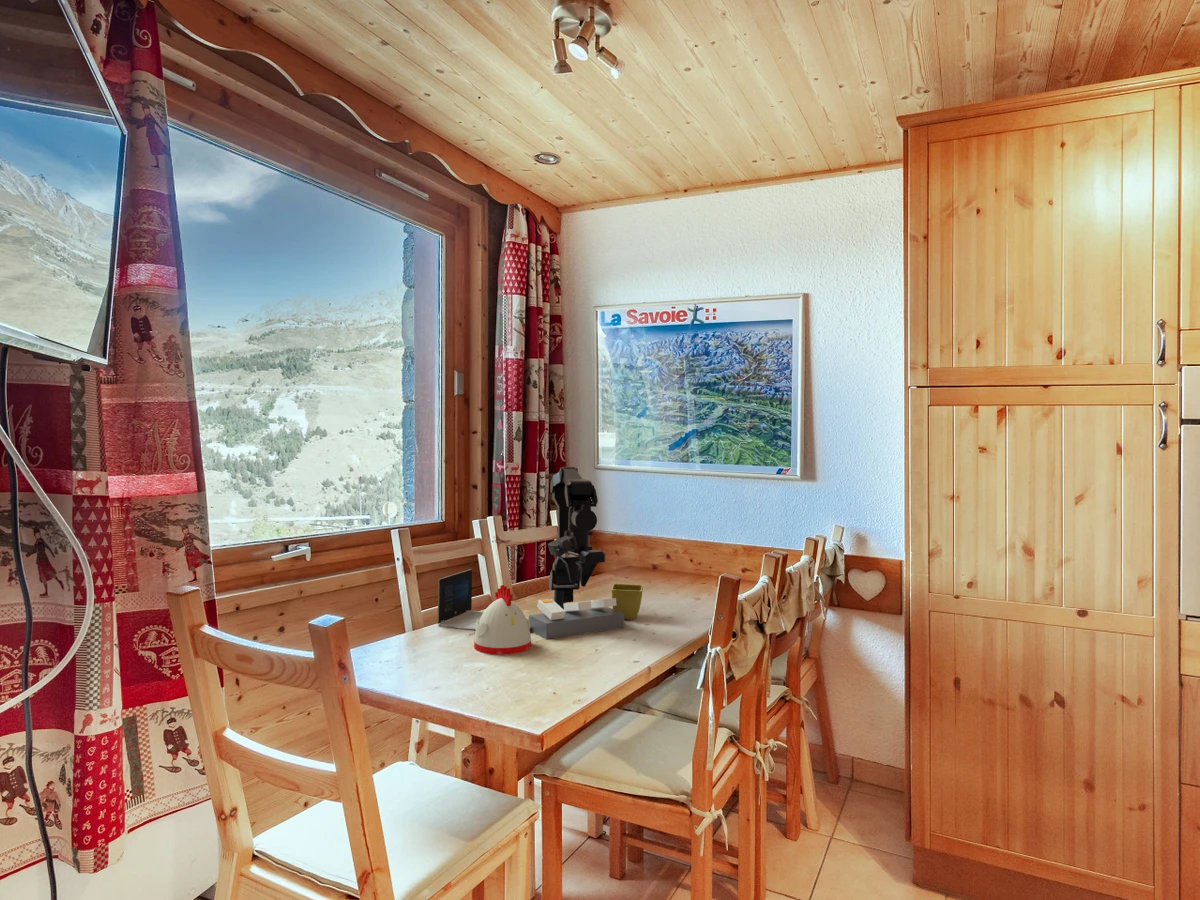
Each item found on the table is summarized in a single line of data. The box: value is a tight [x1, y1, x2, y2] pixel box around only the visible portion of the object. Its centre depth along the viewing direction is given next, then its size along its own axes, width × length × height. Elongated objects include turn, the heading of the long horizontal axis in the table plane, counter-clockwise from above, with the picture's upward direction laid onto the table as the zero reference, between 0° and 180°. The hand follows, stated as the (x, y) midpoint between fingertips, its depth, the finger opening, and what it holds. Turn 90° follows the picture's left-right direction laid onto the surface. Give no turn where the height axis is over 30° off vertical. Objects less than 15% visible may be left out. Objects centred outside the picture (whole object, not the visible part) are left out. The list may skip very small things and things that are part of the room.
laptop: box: [437, 568, 484, 631], centre depth 201 cm, size 18×12×13 cm
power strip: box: [528, 606, 625, 640], centre depth 192 cm, size 10×30×4 cm, turn 122°
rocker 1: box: [536, 598, 565, 620], centre depth 190 cm, size 8×4×2 cm, turn 31°
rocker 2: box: [564, 600, 592, 611], centre depth 194 cm, size 8×4×2 cm, turn 33°
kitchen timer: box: [473, 584, 532, 656], centre depth 176 cm, size 14×14×15 cm
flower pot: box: [611, 583, 644, 621], centre depth 207 cm, size 9×9×9 cm
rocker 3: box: [588, 597, 617, 608], centre depth 198 cm, size 8×4×2 cm, turn 33°
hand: (577, 584), depth 194 cm, fingers open, 5 cm apart
